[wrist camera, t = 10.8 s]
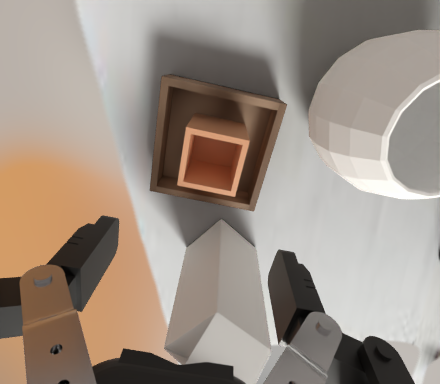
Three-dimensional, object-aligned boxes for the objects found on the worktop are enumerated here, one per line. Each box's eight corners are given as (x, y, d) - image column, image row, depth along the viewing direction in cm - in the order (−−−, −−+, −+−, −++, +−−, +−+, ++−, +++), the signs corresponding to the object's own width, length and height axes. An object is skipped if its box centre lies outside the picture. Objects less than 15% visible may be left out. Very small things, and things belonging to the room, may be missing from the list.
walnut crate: (279, 99, 29) (287, 104, 25) (251, 195, 34) (253, 211, 31) (170, 74, 28) (161, 76, 25) (158, 176, 33) (149, 190, 30)
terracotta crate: (245, 123, 29) (249, 140, 23) (233, 170, 32) (234, 196, 26) (195, 112, 29) (186, 127, 23) (187, 160, 31) (177, 185, 25)
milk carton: (221, 217, 36) (215, 359, 19) (256, 248, 38) (280, 401, 21) (186, 247, 38) (152, 397, 21) (221, 274, 40) (216, 431, 23)
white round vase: (273, 104, 29) (305, 134, 17) (384, 3, 25) (531, -52, 13) (340, 184, 33) (404, 254, 21) (446, 109, 29) (601, 143, 17)
